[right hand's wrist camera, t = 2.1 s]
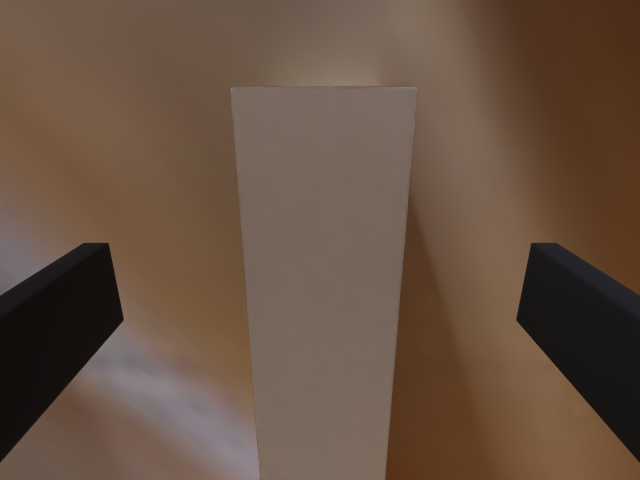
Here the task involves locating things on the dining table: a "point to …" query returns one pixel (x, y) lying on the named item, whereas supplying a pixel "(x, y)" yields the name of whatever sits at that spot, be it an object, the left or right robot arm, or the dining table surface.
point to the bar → (323, 270)
